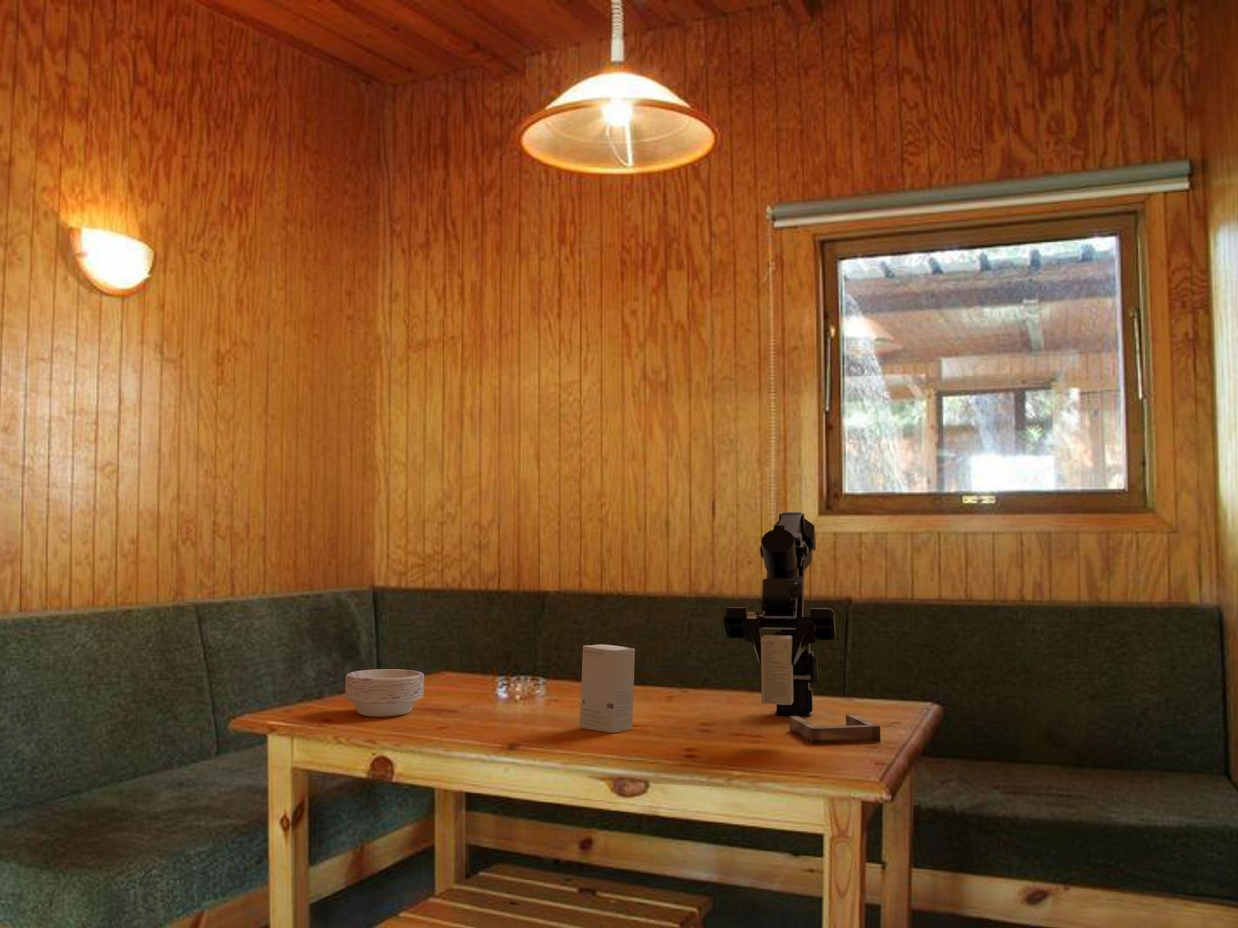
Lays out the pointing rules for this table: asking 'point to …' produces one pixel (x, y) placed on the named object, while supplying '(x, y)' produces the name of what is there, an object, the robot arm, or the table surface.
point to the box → (777, 669)
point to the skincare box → (607, 688)
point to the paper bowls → (384, 691)
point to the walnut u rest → (836, 731)
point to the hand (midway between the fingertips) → (776, 663)
